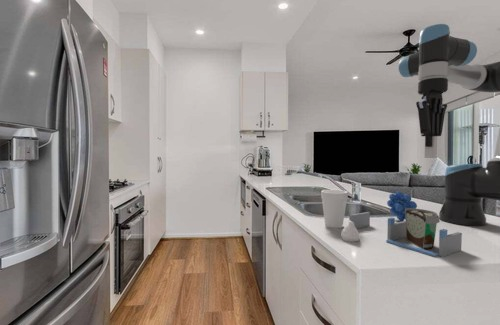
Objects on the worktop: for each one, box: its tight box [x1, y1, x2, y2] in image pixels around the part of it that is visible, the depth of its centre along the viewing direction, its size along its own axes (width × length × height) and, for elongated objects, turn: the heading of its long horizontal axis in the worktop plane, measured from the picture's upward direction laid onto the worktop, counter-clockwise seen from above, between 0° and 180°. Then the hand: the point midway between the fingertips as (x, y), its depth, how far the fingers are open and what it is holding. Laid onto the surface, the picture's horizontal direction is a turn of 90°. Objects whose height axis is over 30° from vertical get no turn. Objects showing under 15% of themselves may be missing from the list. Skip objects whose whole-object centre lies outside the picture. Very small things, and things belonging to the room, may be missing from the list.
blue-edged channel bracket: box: [348, 211, 463, 258], centre depth 89 cm, size 12×31×7 cm, turn 30°
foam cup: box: [320, 189, 349, 229], centre depth 104 cm, size 10×9×13 cm
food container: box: [405, 208, 440, 251], centre depth 83 cm, size 12×6×10 cm, turn 178°
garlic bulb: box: [340, 220, 360, 243], centre depth 88 cm, size 6×6×5 cm
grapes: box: [386, 190, 418, 222], centre depth 112 cm, size 12×7×12 cm, turn 38°
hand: (430, 157), depth 85 cm, fingers closed
